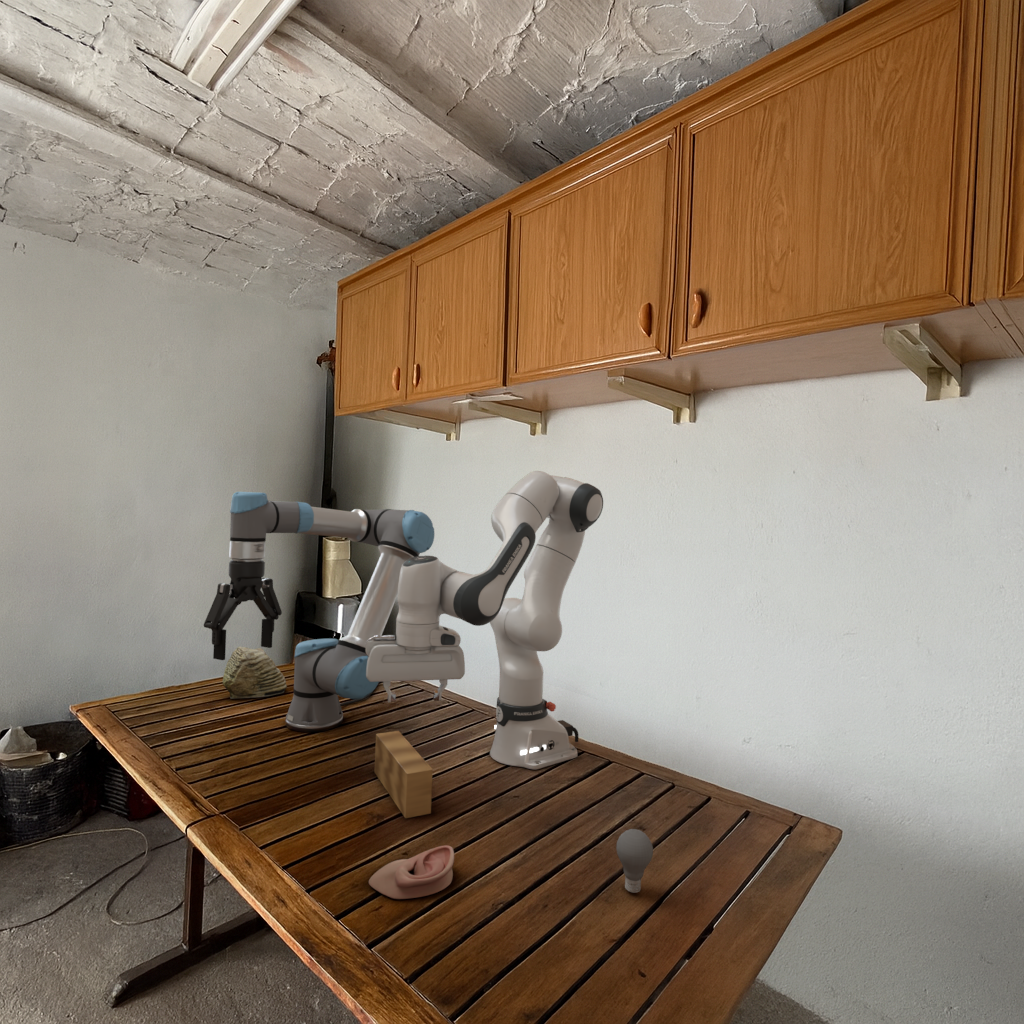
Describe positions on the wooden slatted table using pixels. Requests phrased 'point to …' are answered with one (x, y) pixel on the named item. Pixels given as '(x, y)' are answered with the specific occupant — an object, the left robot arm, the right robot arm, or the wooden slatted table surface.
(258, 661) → the fossil
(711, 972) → the wooden slatted table surface
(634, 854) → the light bulb
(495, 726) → the right robot arm
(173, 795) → the wooden slatted table surface
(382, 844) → the wooden slatted table surface
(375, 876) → the anatomical model
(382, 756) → the bar
